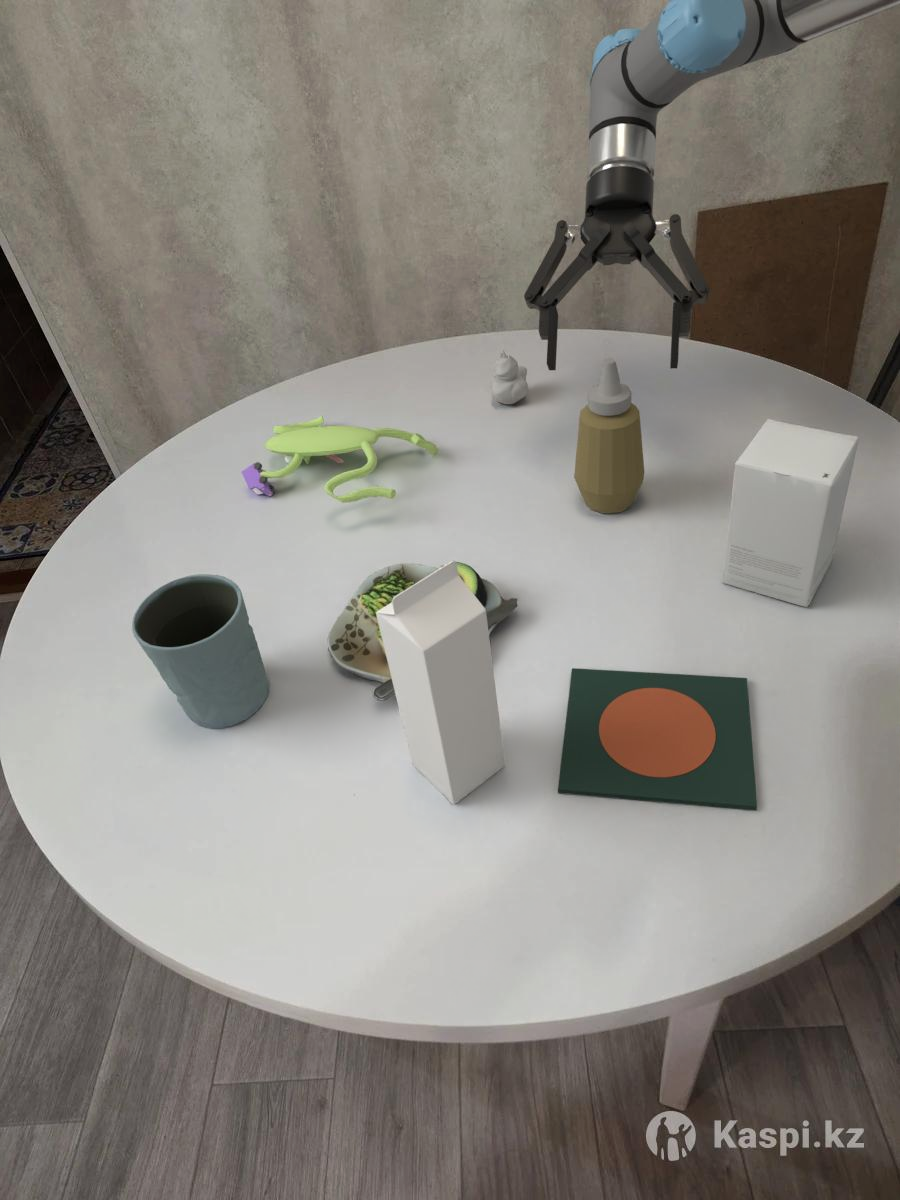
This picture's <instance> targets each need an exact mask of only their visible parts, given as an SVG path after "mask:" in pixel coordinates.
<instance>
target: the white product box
mask: <svg viewBox="0 0 900 1200" xmlns="http://www.w3.org/2000/svg"><path fill="white" fill-rule="evenodd" d="M859 440H860V437H859V436H856V435H850V434H845V433H840V432H835V431H831V430H830V431H829V430H825V429H819V428H814V427H809V426H805V425H800V424H799V425H798V424H794V423H789V422H784V421H779V420H774V419H770V418H767V419H766V420H765V422H764V423H763V424H762V426H761V428H760V429H759V431H757V434H756V435H755V436H754V438H753V439H752V440H751V442H750V443H748V445H747V447H746V448H745V449H744V451H743V452H742V453H741V455H740V456H739V457H738V459H737V460H736V462H735V463H734V468H733V481H732V490H731V499H730V501H731V502H730V508H729V517H728V528H727V538H726V547H725V554H724V564H723V573H722V583H723V584H724V585H729V586H732V587H735V588H737V589H743V590H745V591H749V592H752V593H756V594H759V595H762V596H766V597H769V598H773V599H777V600H780V601H782V602H786V603H790V604H794V605H797V606H799V607H804V608H808V607H809V606H810V604H811V602H812V600H813V598H814V597H815V594H816V592H817V591H818V588H819V587H820V584H821V583H822V581H823V579H824V577H825V575H826V574H827V571H828V569H829V567H830V566H831V564H832V562H833V559H834V554H835V550H836V545H837V541H838V537H839V532H840V527H841V523H842V518H843V513H844V509H845V504H846V500H847V494H848V490H849V485H850V480H851V477H852V472H853V467H854V462H855V458H856V454H857V449H858V445H859Z"/></svg>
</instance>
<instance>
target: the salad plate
mask: <svg viewBox="0 0 900 1200" xmlns="http://www.w3.org/2000/svg"><path fill="white" fill-rule="evenodd" d="M455 562H456V563H457V569H458V575H459V576H460V578H461V579H462V580H463V581H464V583H465V584H466V585H467V586H468V588H469V589H470V590H471V591H472V593H473V594H474V595H475V597H476V598H477V599H478V600H479V602H480V603H481V604H482V605H483V607H484V608H485V610H486V616H487V624H488V632H489V636H490V634H491V633H492V632H493V630H494V629H495V628H496V627H497V626H498V625H499V624H500V623H501V622H503V621H505V619H506V618H507V617H509V616H510V615H511V614H512V613H513V612H514V611H515V610H516V609H518V597H510V598H508V599H505V598H504V597H503V595H501V593H500V591H499V589H498V588H497V587H496V585H494V584H493V583H492V582H491V581H489V580H487V579H486V578H482V577H481V576H480V575H479V573H478V572H477V571H476V570H475V569H474V568H473V567H472V566H471V565H469V564H466V563H463V562H460V561H455ZM448 563H449V562H447V563H446V564H448ZM446 564H444V565H441V566H440V568H441V567H443V566H445V565H446ZM438 569H439V567H432V566H427V565H422V564H417V563H397V564H393V565H389V566H387V567H383V568H382V569H380V570H378V571H374V572H373V573H371V574H370V575H369V576H367V577H366V578H365V579H364V581H362V582H361V584H360V585H359V587H358V588H357V589H356V591H355V592H354V594H353V595H352V597H351V598H350V600H349V601H348V603H347V604H346V606H345V607H344V609H343V610H342V612H341V613H340V615H339V616H338V617H337V618H336V621H335V622H334V624H333V625H332V627H331V629H330V630H329V633H327V639H326V641H327V652H329V655H330V658H331V659H332V661H333V663H334V664H335V665H336V666H337V667H339V668H341V669H343V670H345V671H347V672H349V673H352V674H353V675H356V676H358V677H360V678H363V679H366V680H370V681H375V682H380V683H381V684H380V685H378V686H376V687H375V688H374V689H373V691H372V692H373V693H372V694H373V697H374V699H375V700H377V701H378V702H385V701H388V700H390V699H392V698H393V697H396V694H395V690H394V686H393V682H392V678H391V674H390V669H389V665H388V661H387V657H386V653H385V649H384V645H383V641H382V636H381V632H380V628H379V624H378V620H377V616H376V612H377V611H379V610H380V609H382V608H383V607H385V606H387V605H388V604H390V603H391V602H392V600H393V598H394V597H395V596H396V595H398V594H399V593H401V592H403V591H404V590H406V589H407V588H409V587H411V586H412V585H414V584H416V583H417V582H419V581H420V580H422V579H424V578H425V577H427V576H428V575H430V574H432V573H433V572H435V571H437V570H438Z"/></svg>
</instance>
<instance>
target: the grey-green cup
mask: <svg viewBox="0 0 900 1200" xmlns="http://www.w3.org/2000/svg"><path fill="white" fill-rule="evenodd" d="M131 631H132V634H133V637H134V639H135V640H136V641H137V643H138V644H139V646H140V647H141V649H142V650H143V651H144V653H145V655H146V657H148V658H149V660H150V661H151V662H152V664H153V665H154V667H155V668H156V670H157V672H158V673H159V675H160V677H161V679H162V680H163V681H164V683H165V684H166V686H167V687H168V689H169V690H170V691H171V692H172V694H174V695H175V696H176V700H177V703H178V704H179V706H180V707H181V708H182V710H183V711H184V713H185V714H186V716H187V717H188V718H189V719H190V720H191V721H192V722H193V723H194V724H196V725H197V726H200V727H203V728H207V729H213V730H214V729H226V728H228V727H229V728H230V727H233V726H235V725H236V724H240V723H242V722H244V721H246V720H247V719H249V718H250V717H251V716H253V715H254V714H255V713H256V712H257V711H258V710H260V708H261V707H263V705H264V704H265V702H266V700H267V698H268V695H269V691H270V690H269V687H270V684H269V683H270V682H269V677H268V674H267V671H266V667H265V665H264V662H263V658H262V656H261V651H260V649H259V646H258V645H259V644H258V640H257V639H256V635H255V632H254V628H253V627H252V626H251V624H250V617H249V614H248V610H247V606H246V603H245V599H244V596H243V592H242V590H241V588H240V587H239V585H238V584H237V583H236V582H235V581H233V580H232V579H230V578H227V577H225V576H223V575H218V574H208V573H207V574H206V573H205V574H204V573H201V574H192V575H187V576H183V577H180V578H177V579H174V580H172V581H170V582H167V583H166V584H164V585H162V586H160V587H158V588H156V589H155V590H154V591H152V592H151V593H150V594H149V595H148V596H147V597H145V599H144V600H142V602H141V603H140V605H139V606H138V607H137V609H136V611H135V612H134V614H133V617H132V622H131Z"/></svg>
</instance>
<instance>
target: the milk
mask: <svg viewBox="0 0 900 1200" xmlns="http://www.w3.org/2000/svg"><path fill="white" fill-rule="evenodd" d="M456 562H457V561H455V560H451V561H449V562H447V563H448V564H447V563H446V564H444V565H445V566H443V567H441V566H440V568H438V570H437V571H435V572H433V573H432V574H430V575H428V576H427V577H425V578H424V579H422V580H420V581H419V582H417V583H416V584H414V585H412V586H411V587H409V588H407V589H406V590H404V591H403V592H401V593H399V594H398V595H396V596H395V597H394V598H393V600H392V602H391V603H390V604H388V605H387V606H385V607H383V608H382V609H380V610H379V611H377V612H376V616H377V620H378V624H379V628H380V632H381V636H382V641H383V645H384V649H385V653H386V657H387V661H388V665H389V669H390V674H391V678H392V682H393V686H394V690H395V694H396V695H395V698H396V703H397V706H398V710H399V714H400V719H401V723H402V728H403V731H404V736H405V740H406V744H407V748H408V752H409V754H410V755H409V756H410V760H411V764H412V766H413V767H414V768H415V769H416V770H417V771H419V773H420V774H421V775H422V776H423V777H424V778H426V780H428V781H429V782H430V784H432V785H433V786H434V787H435V788H436V789H437V790H438V791H439V792H440V793H441V794H442V795H443V796H444V797H445V798H446V799H447V800H449V802H450V803H452V804H453V805H456V804H457V803H459V802H460V801H461V800H462V799H464V798H465V797H466V796H468V795H469V794H471V793H472V792H473V791H474V790H476V789H477V788H478V787H480V786H481V785H482V784H483V783H485V782H486V781H487V780H488V779H490V778H491V777H492V776H494V775H495V774H497V772H499V771H500V770H501V769H503V768H504V767H505V766H506V760H505V752H504V745H503V735H502V730H501V720H500V713H499V704H498V696H497V688H496V680H495V672H494V665H493V664H494V663H493V658H492V657H493V656H492V647H491V641H490V635H489V632H488V624H487V616H486V610H485V608H484V607H483V605H482V604H481V603H480V602H479V600H478V599H477V598H476V597H475V595H474V594H473V593H472V591H471V590H470V589H469V588H468V586H467V585H466V584H465V583H464V581H463V580H462V579H461V578H460V576H459V575H458V569H457V563H456Z"/></svg>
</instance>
